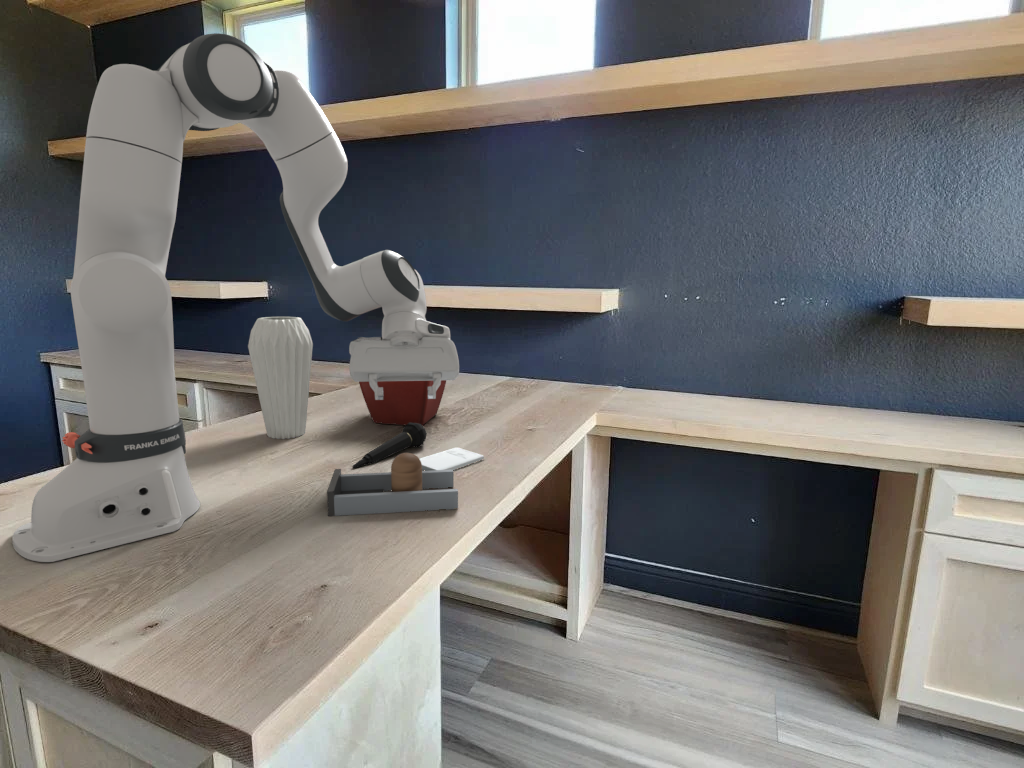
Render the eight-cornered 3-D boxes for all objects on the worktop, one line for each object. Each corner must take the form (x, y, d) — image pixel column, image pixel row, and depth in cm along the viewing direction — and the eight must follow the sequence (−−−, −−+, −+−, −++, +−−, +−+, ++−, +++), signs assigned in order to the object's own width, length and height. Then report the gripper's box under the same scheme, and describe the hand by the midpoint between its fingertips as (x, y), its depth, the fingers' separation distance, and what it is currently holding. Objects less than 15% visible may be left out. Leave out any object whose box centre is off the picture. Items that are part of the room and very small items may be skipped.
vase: (312, 423, 138) (306, 315, 132) (322, 438, 126) (316, 320, 121) (252, 429, 132) (244, 316, 126) (256, 445, 120) (247, 321, 115)
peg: (406, 508, 91) (405, 460, 89) (385, 500, 94) (384, 453, 92) (428, 498, 94) (428, 452, 93) (408, 491, 97) (407, 446, 96)
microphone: (362, 485, 108) (429, 447, 124) (365, 461, 105) (433, 425, 121) (342, 472, 110) (410, 435, 126) (344, 448, 107) (414, 414, 124)
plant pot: (430, 431, 133) (430, 361, 130) (354, 426, 136) (351, 357, 133) (452, 412, 152) (452, 349, 148) (385, 407, 155) (383, 346, 151)
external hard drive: (409, 468, 110) (455, 453, 119) (438, 479, 105) (484, 462, 114) (409, 460, 110) (455, 446, 119) (438, 470, 105) (484, 454, 114)
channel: (328, 516, 87) (326, 491, 86) (335, 491, 97) (334, 469, 96) (458, 508, 91) (458, 485, 90) (453, 485, 100) (453, 464, 99)
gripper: (348, 327, 106) (344, 389, 98) (457, 327, 110) (462, 387, 102) (351, 347, 111) (348, 408, 104) (455, 347, 115) (459, 405, 107)
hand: (405, 397), depth 103 cm, fingers open, 8 cm apart
